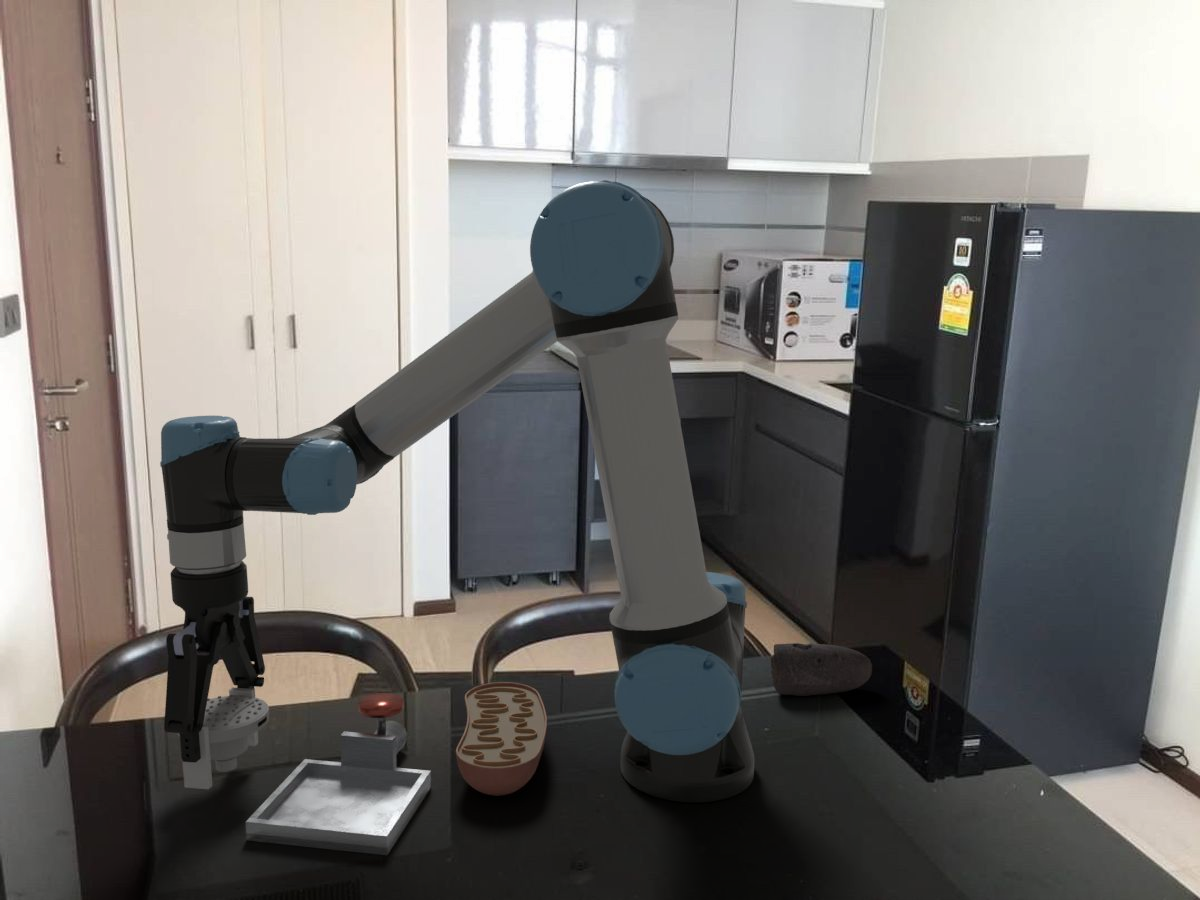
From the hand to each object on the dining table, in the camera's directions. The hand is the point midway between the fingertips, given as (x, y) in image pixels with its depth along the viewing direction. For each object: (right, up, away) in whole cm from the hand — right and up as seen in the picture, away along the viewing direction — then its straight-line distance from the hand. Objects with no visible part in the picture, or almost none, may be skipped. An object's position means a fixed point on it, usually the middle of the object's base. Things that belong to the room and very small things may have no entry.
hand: (223, 764), depth 113 cm
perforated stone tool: (+71, +1, +29) cm, 76 cm away
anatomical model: (+30, -2, +8) cm, 31 cm away
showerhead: (0, -1, 0) cm, 1 cm away
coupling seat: (+15, -3, -1) cm, 15 cm away
